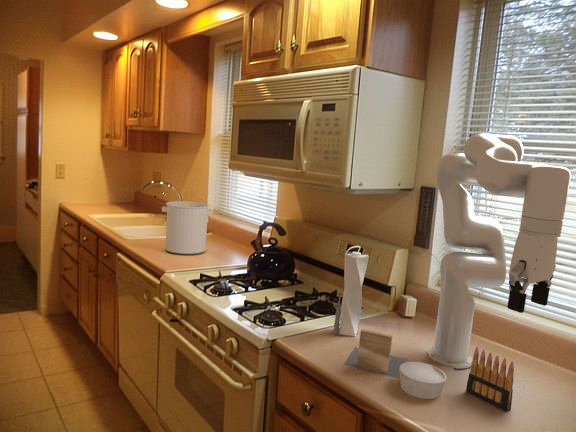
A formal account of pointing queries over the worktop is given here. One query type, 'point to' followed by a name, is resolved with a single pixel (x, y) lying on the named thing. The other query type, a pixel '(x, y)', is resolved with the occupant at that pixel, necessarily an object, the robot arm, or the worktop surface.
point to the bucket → (186, 227)
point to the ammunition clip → (491, 381)
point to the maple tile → (374, 350)
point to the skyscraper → (351, 294)
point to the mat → (392, 371)
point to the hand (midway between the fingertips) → (527, 307)
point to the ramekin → (422, 380)
